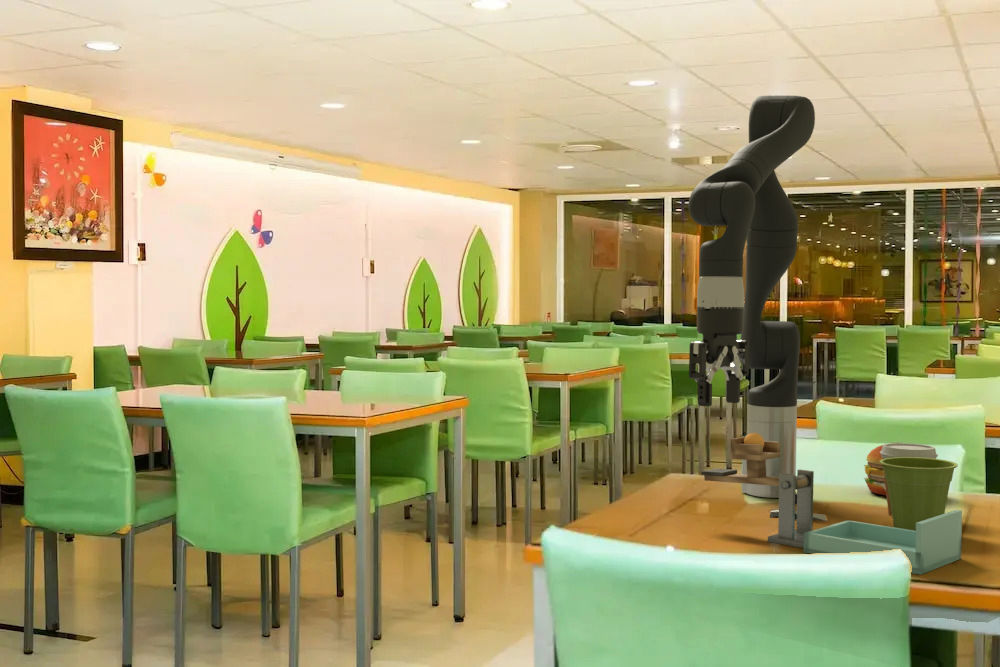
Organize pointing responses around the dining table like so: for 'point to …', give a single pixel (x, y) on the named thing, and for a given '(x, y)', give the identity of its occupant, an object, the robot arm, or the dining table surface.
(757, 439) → the ball
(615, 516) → the dining table surface
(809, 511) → the catapult base
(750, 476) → the lever
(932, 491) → the plant pot
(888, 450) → the disposable coffee cup
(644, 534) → the dining table surface
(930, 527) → the tray
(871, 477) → the burger
